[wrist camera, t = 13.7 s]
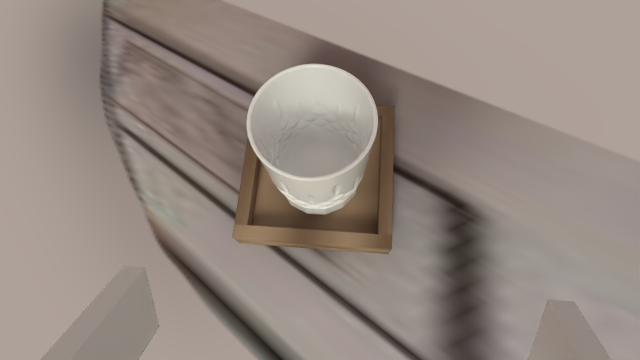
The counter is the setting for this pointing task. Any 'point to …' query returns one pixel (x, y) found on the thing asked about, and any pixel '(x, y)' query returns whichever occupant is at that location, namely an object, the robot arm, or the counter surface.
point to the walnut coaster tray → (314, 229)
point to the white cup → (313, 134)
